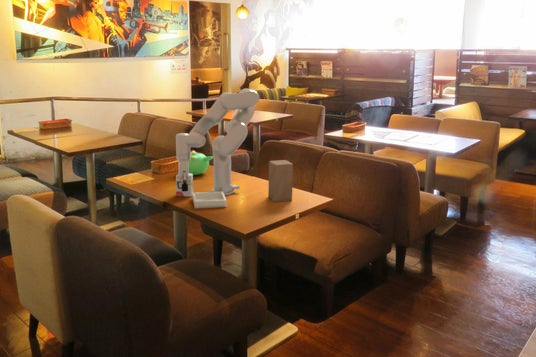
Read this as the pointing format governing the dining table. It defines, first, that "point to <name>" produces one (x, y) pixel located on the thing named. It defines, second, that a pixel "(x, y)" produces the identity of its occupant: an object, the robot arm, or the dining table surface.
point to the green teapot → (198, 163)
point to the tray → (209, 199)
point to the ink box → (179, 186)
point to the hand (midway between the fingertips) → (184, 189)
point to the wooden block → (280, 180)
